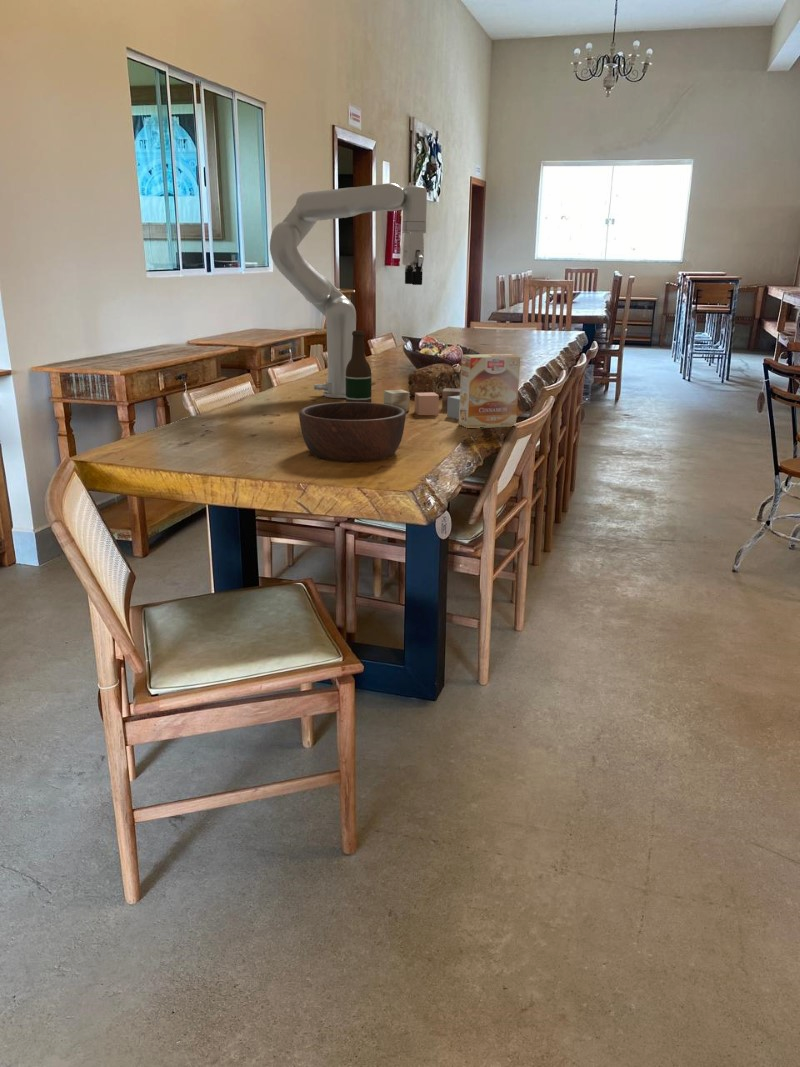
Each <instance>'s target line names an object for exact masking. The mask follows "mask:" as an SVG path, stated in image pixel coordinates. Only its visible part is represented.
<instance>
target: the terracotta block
mask: <svg viewBox="0 0 800 1067" xmlns="http://www.w3.org/2000/svg"><path fill="white" fill-rule="evenodd" d="M439 402H440V397H439V395H437V394H436V393H434V392H429V393H415V397H414V413H415V412H416V413H417V414H418V415H435V416H439V409H440V408H439V405H440V404H439ZM416 413H415V414H416ZM417 414H416V415H417ZM418 415H417V416H418Z"/></svg>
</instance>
